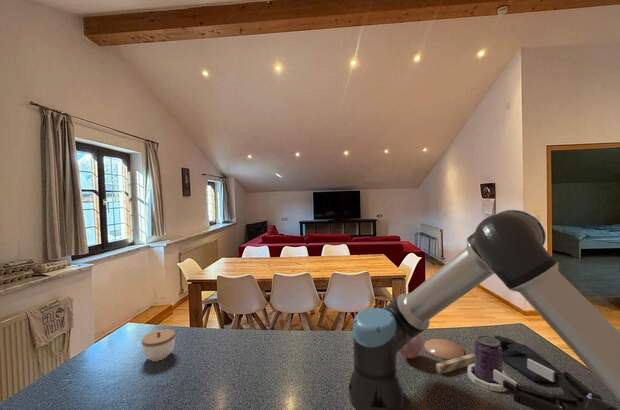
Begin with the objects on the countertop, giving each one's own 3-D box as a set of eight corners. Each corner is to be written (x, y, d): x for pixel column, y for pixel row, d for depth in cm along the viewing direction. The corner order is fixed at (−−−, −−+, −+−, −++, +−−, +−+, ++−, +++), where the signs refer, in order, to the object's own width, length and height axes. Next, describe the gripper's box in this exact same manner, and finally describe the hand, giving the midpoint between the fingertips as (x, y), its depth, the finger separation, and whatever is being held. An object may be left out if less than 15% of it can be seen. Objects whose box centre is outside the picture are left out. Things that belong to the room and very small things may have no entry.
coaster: (454, 364, 93) (454, 363, 93) (417, 348, 103) (417, 347, 103) (469, 350, 101) (469, 348, 101) (434, 336, 111) (434, 335, 111)
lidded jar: (174, 361, 99) (173, 335, 99) (139, 368, 95) (138, 341, 95) (176, 346, 109) (175, 322, 109) (145, 352, 105) (144, 328, 105)
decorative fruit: (400, 348, 103) (400, 321, 103) (424, 354, 99) (423, 327, 98) (392, 361, 96) (392, 332, 95) (417, 368, 91) (417, 338, 91)
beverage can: (494, 371, 88) (493, 334, 88) (507, 387, 81) (507, 346, 81) (470, 371, 89) (470, 334, 89) (482, 386, 82) (481, 346, 82)
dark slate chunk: (528, 387, 82) (528, 371, 82) (481, 347, 104) (481, 334, 103) (580, 385, 82) (580, 370, 82) (522, 345, 104) (522, 333, 104)
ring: (504, 397, 77) (504, 392, 77) (460, 377, 86) (460, 372, 86) (516, 380, 84) (516, 375, 84) (474, 363, 93) (474, 358, 93)
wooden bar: (439, 374, 88) (439, 366, 88) (436, 371, 89) (435, 363, 89) (481, 361, 94) (481, 354, 94) (477, 359, 95) (477, 351, 95)
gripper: (576, 464, 55) (479, 393, 75) (645, 426, 63) (541, 371, 83) (576, 427, 54) (478, 365, 74) (646, 394, 63) (541, 346, 83)
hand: (511, 368), depth 79 cm, fingers open, 13 cm apart
